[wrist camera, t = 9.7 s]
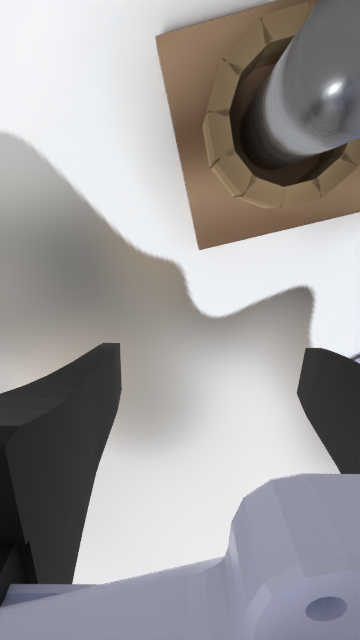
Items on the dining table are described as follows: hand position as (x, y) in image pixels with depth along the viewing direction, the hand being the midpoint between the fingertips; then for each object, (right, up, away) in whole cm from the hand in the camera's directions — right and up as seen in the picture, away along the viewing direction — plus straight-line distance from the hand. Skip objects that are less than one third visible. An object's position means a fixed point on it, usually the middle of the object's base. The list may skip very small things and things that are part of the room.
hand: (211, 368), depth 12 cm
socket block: (+4, +13, +6) cm, 15 cm away
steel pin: (+4, +13, +5) cm, 14 cm away
